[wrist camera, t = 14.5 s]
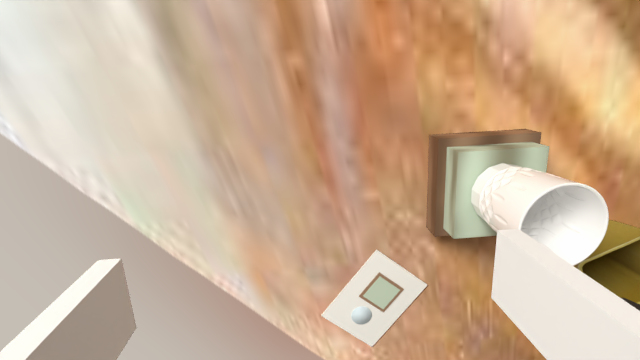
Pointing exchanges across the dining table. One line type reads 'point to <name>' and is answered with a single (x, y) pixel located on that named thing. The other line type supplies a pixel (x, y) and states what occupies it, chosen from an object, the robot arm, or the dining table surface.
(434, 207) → the tower base
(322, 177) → the dining table surface
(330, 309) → the page
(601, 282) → the flower pot
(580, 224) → the white cup
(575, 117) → the dining table surface
